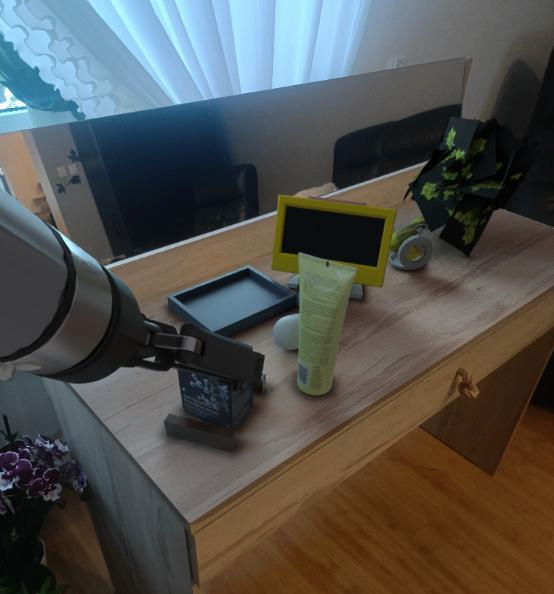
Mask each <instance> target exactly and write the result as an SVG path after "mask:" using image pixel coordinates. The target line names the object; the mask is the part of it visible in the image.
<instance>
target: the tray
mask: <svg viewBox="0 0 554 594" xmlns="http://www.w3.org/2000/svg"><path fill="white" fill-rule="evenodd" d="M166 299H167V304H168V308H169V309H171V310H172V311H173V312H175V313H176V314H177V315H178V316H180V317H181V318H182V319H183V320H185V321H186V323H190V324H194V326H196V327H199V328H200V327H201V328H203V329H206V330H208V331H211V332H213V333H216V334H219V335H221V336H224V337H227V338H229V337H230V336H232V335H234V334H237V333H239V332H241V331H243V330H245V329H248V328H249V327H252V326H254V325H256V324H259V323H261V322H263V321H265V320H268V319H269V318H271V317H274V316H276V315H278V314H280V313H282V312H284V311H286V310H289V309H291V308H293V307H295V306H297V302H296V292H294V291H292V290H291V289H289V288H287V286H284V285H282V284H281V283H279V282H278V281H276V280H274V279H272V278H271V277H269V276H268V275H266V274H264V273H262V272H261V271H259V270H258V269H256V268H255V267H253V266H252V265H250V264H249V265H245V266H243V267H240V268H238V269H237V268H236V269H235V270H232V271H230V272H227V273H224V274H222V275H219V276H216V277H214V278H212V279H209V280H207V281H204V282H201V283H198V284H195V285H193V286H190V287H187V288H185V289H182V290H180V291H177V292H175V293H172V294H169V295H167V297H166Z"/></svg>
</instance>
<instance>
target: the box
mask: <svg viewBox="0 0 554 594" xmlns="http://www.w3.org/2000/svg"><path fill="white" fill-rule="evenodd" d="M200 329H202V330H203V331H205V332H206V333H208V334H211V335H213V336H216V337H218V338H221V339H224V340H226V341H229V342H231V343H234V344H237V345H239V346H242V347H244V348H247V349H250V350H252V351H254V350H253V349H254V348H253V346H252V345H249V344H247V343H244V342H240V341H238V340H235V339H232V338H229V337H224V336H221V335H219V334H216V333H213V332H211V331H208V330H206V329H203V328H201V327H200ZM176 372H177V378H178V385H179V391H180V392H179V393H180V399H181V404H182V406H181V407H182V411H184V412H186V413H188V414H190V415H192V416H195V417H197V418H199V419H202V420H203V421H205V422H207V423H210V424H213V425H217V426H221V427H225V428H229V429H233V430H236V428H237V427H238V426H239V424H241V422H242V421H243V420H244V419H245V417H247V415H248V414H249V413H250V412H251V411H252V409H253V408H254V392H253V386H251V385H250V384H248V383H245V382H244V385H243V391H239V392H233V391H227V388H228V387H227V386H225V385H223V384H221V383H220V382H219V381H220V379H216V378H211V377H207V376H203V375H199V374H194V373H190V372H186V371H182V370H178V369H176Z"/></svg>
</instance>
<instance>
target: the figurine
mask: <svg viewBox="0 0 554 594" xmlns="http://www.w3.org/2000/svg"><path fill="white" fill-rule="evenodd" d="M299 318H300V313H294V314H288V315H286V316H283V317H280V318H279V319H278V320H277V321H276V323H275V325H274V327H273V329H272V337H273V340H274V342H275V343H276V344H277V345H278V346H279V347H280V348H282V349H283V350H287V351H294V350H299Z"/></svg>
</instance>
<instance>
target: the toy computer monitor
mask: <svg viewBox="0 0 554 594" xmlns="http://www.w3.org/2000/svg"><path fill="white" fill-rule="evenodd" d="M397 213H398V210H397V209H394V208H387V207H379V206H370V205H367V202H362V201H361V202H360V201H352V200H345V199H336V198H330V197H322V196H313V195H307V196H306V197H301V196H295V195H285V194H278V198H277V208H276V216H275V227H274V237H273V244H272V245H273V246H272V254H271V255H272V256H271V264H270V265H271V266H270V269H271V270H272V271H277V272H284V273H289V274H295V275H294V276H293V277H292V278H291V279H290V280H289V281H288V282H287V287H288V288H290V289H296V288H297V285H298V284H299V262H298V254H299V253H303V254H307V255H310V256H313V257H317V258H320V259H324V260H327V261H331V262H335V263H338V264H342V265H346V266H350V267H354V268H357V273H356V276H355V279H354V282H353V285H352V289H351V293H350V296H349V299H355V300H360V301H361V300H362V299H363V295H364V294H363V286H367V287H368V286H369V287H375V288H379V289H380V288H383V286H384V280H385V275H386V270H387V266H388V262H389V261H388V259H389V255H390V251H391V250H390V245H391V240H392V235H393V233H394V230H395V223H396V218H397V215H398V214H397Z"/></svg>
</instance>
